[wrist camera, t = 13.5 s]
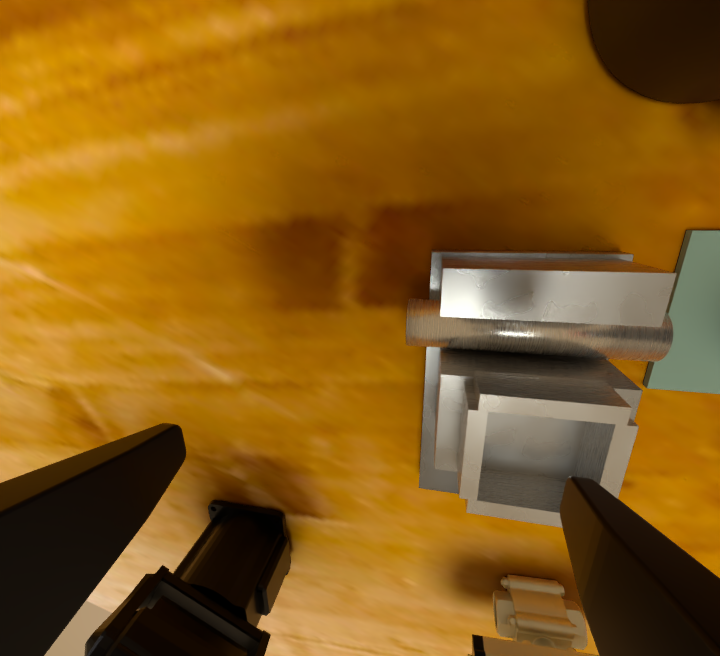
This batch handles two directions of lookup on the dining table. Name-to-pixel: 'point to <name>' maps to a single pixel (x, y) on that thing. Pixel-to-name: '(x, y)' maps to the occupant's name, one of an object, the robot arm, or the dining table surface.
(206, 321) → the dining table surface
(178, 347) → the dining table surface
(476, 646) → the pneumatic valve
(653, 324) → the clamp base
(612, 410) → the bracket
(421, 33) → the dining table surface
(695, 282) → the mat
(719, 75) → the mug
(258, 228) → the dining table surface
